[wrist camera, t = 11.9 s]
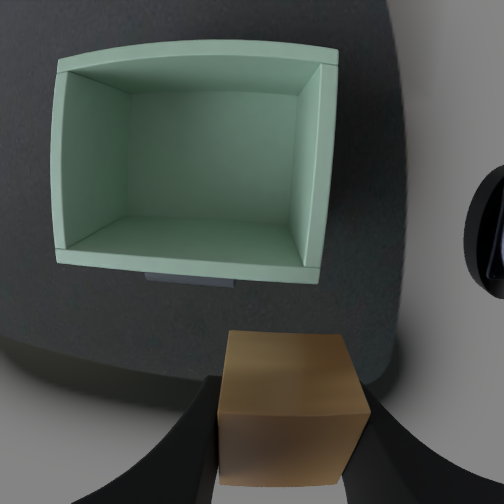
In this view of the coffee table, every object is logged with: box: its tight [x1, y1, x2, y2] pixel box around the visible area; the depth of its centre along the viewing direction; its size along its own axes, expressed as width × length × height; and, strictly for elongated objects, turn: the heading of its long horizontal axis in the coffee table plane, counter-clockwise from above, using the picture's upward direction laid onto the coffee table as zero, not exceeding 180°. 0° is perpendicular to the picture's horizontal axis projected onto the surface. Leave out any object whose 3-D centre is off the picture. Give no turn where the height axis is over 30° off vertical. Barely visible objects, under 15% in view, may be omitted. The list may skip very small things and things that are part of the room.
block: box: [217, 330, 371, 487], centre depth 10 cm, size 4×4×4 cm
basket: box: [51, 40, 339, 288], centre depth 13 cm, size 10×10×7 cm
